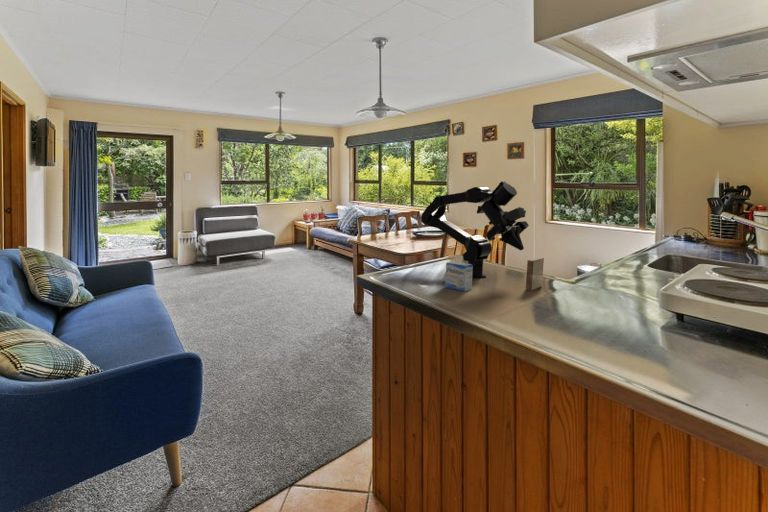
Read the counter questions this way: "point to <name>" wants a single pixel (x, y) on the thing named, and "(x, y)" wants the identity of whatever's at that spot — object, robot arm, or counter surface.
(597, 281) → the counter surface
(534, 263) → the walnut tile
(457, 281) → the medicine box
